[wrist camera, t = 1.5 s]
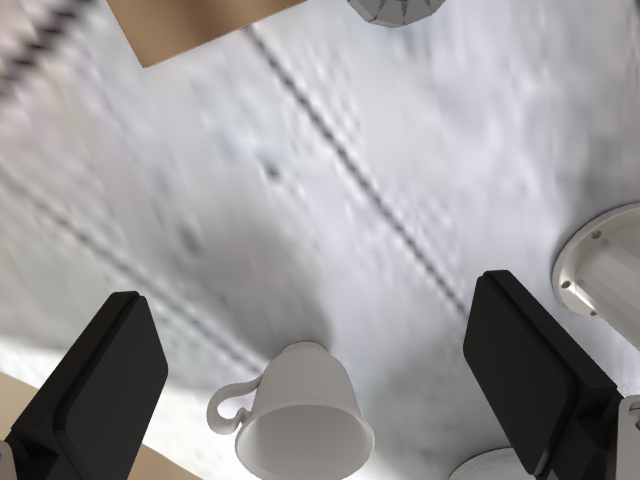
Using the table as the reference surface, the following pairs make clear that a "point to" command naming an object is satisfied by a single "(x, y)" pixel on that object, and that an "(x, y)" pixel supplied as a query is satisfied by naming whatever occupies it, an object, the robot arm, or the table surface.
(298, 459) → the teacup
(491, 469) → the bowl
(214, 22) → the brown base with peg
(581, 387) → the robot arm
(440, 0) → the ring
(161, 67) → the table surface
